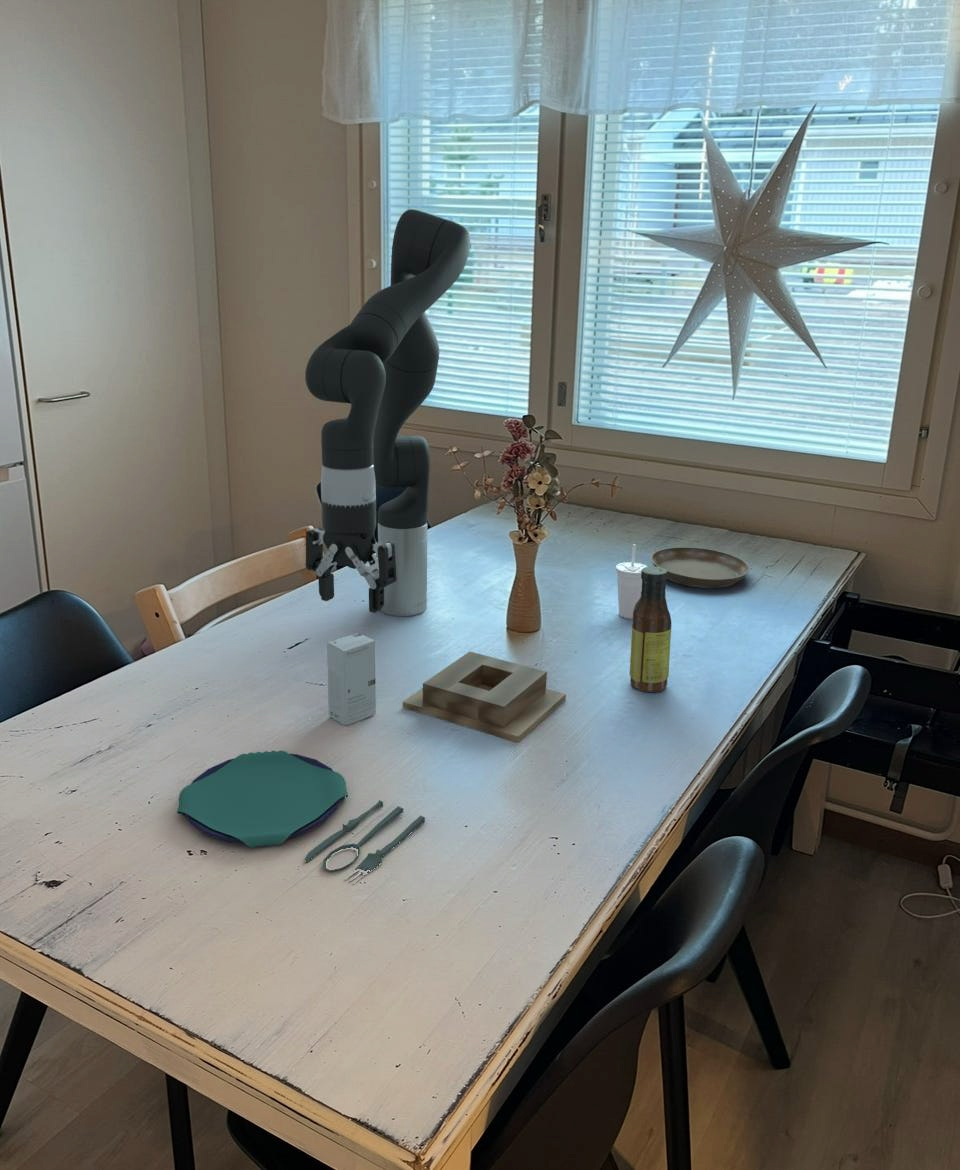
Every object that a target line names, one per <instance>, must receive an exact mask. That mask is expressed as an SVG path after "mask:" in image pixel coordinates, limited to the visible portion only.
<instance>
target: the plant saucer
mask: <svg viewBox="0 0 960 1170" xmlns="http://www.w3.org/2000/svg"><path fill="white" fill-rule="evenodd" d="M650 560H651V562H652V564H653V567H661V568H664V569H666V570H667V580H669V581H671V582H673V583H675V584H679V585H683V586H685V587H691V586H692V588H698V587H699V588H701V589H719V588H727V587H730V586H733V585H735V584H736V583H738V582H739V581H741V580H743V579H744V578H745V577H746V575H747V574H748V573H749V572H750V566H749V565H748V564H749V563H747V562H746V561H745V560H743V559H741V558H739V557H738V556H735V555H732V554H730V553H727V552H724V551H719V550H714V549H710V548H703V547H689V546H684V547H683V546H681V547H680V546H679V547H668V548H663V549H659V550H656V551H655V552H653V553H652V554H651V557H650Z"/></svg>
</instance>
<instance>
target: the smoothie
mask: <svg viewBox="0 0 960 1170" xmlns="http://www.w3.org/2000/svg"><path fill="white" fill-rule="evenodd" d="M636 545H637V544H635V543H633V544H632V549H631V561H629V562H627V561H626V562H620V563H618V564H616V565H615V573H616V578H617V579H616V580H617V581H616V583H617V600H618V603H617V604H618V616H619V617H620V618H623V617H624V619H628V618H629V620H630V619H631V618H632V620H633V610H634V607H635V605H636V603H637V602H638V600H639V599H640V597H641V591H642V578H641V571H642V569H643V568H645V567H649V566H647V565H646V564H643V563H639V562H635V560H636V547H637V546H636Z"/></svg>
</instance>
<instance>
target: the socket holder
mask: <svg viewBox="0 0 960 1170" xmlns="http://www.w3.org/2000/svg"><path fill="white" fill-rule="evenodd" d="M547 676H548V671H546V670H542V669H538V668H534V667H530V666H527V665H523V664H520V663H519V664H518V663H515V662H513V661H512V662H511V661H509V660H503V659H500V658H496V657H492V656H489V655H485V654H481V653H477V652H474V651H469V652H467V653H465V654H464V655H461V657H460V658H458V659H457V660H455V661H454V662H452V663H450V664H449V665H448V666H446V667H444V668H443V669H441V670H440V671H439V672H437V673H436V674H434V675H433V676H431V677H430V678H428V679H427V680H426V681H424V682H423V683H422V688H421V689H419V690H418V691H416V692H415V693H413V694H412V695H410V696H409V697H407V698H406V699H405V700H403V701H402V708H403V709H405V710H406V709H407V710H409V711H412V712H415V713H419V714H423V715H426V716H429V717H431V718H436V719H439V720H442V721H446V722H448V723H452V724H455V725H459V726H462V727H465V728H469V729H471V730H475V731H479V732H482V733H485V734H488V735H492V736H495V737H499V738H501V739H505V740H507V741H512V742H515V743H519V742H521V740H523V739H524V738H525V737H526V736H527V735H528V734H529V733H531V731H533V730H534V729H535V728H536V727H537V726H538V725H539V724H540V723H541V722H543V721H544V720H545V719H546V718H548V716H549V715H551V714H552V713H553V712H554V711H555V710H556V709H557V708H558V707H559V706H560V705H562V703H563V702H565V700H566V698H567V697H566V696H567V694H566V693H564V692H560V691H556V690H551V689H548V688H547V680H548V679H547V678H548V677H547Z"/></svg>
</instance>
